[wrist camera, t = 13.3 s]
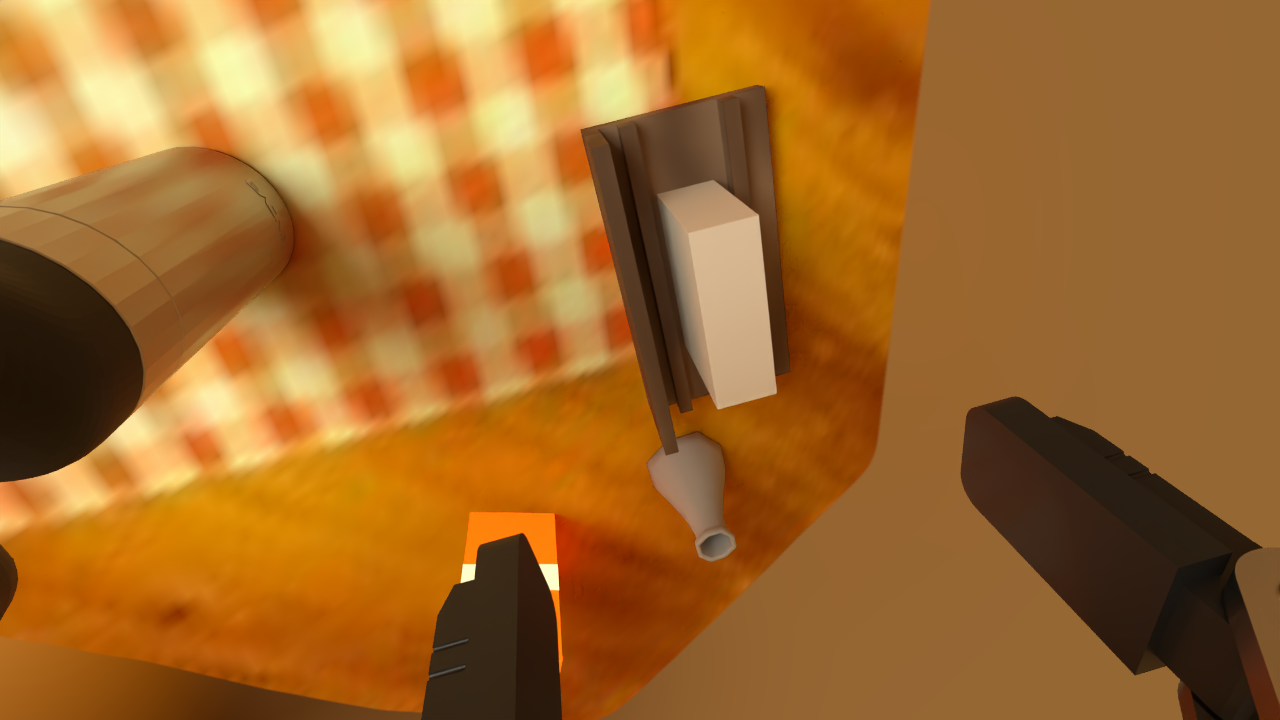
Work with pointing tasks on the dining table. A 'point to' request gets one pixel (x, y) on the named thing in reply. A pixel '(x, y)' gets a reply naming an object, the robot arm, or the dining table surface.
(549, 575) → the orange juice
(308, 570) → the dining table surface
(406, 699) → the dining table surface
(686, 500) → the flask
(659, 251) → the picture ledge
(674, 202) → the white rectangular block
